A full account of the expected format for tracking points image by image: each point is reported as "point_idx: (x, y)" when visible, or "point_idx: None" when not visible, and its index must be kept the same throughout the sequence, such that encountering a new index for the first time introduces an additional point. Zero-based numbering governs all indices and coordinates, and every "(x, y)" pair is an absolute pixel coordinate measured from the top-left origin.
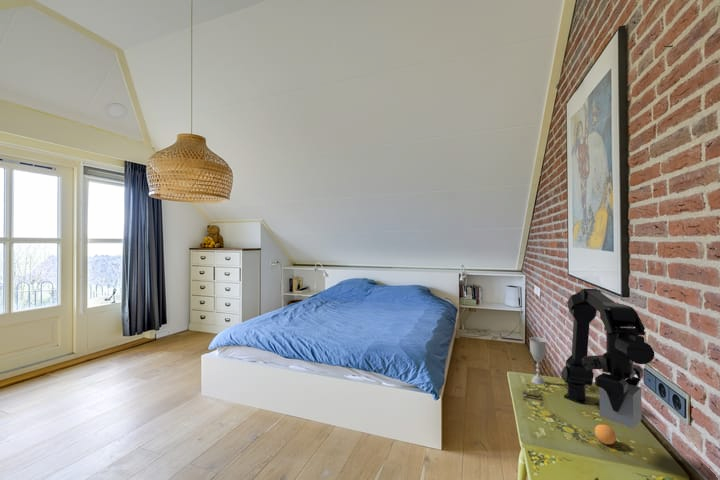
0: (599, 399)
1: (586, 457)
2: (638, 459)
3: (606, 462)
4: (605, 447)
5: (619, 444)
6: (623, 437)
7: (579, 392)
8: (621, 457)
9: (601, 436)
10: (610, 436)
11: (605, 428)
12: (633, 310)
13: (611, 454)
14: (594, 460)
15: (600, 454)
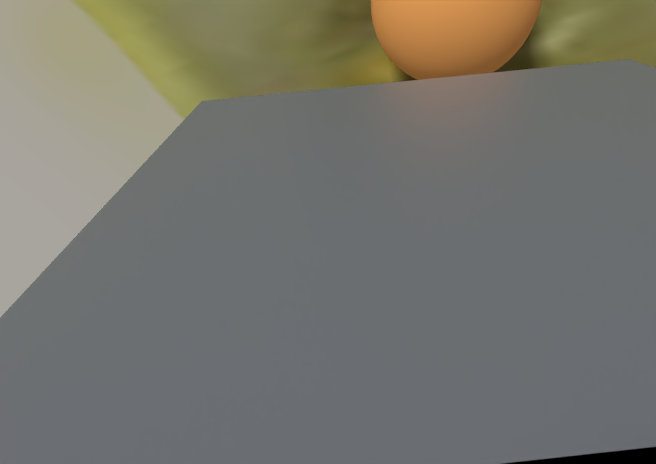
0: (90, 224)
1: (105, 3)
2: None
3: (188, 107)
4: (368, 25)
5: (500, 67)
6: (640, 44)
7: None
8: None
9: (372, 2)
10: (406, 67)
11: (433, 25)
12: None
13: (312, 88)
14: (130, 53)
15: (241, 44)
